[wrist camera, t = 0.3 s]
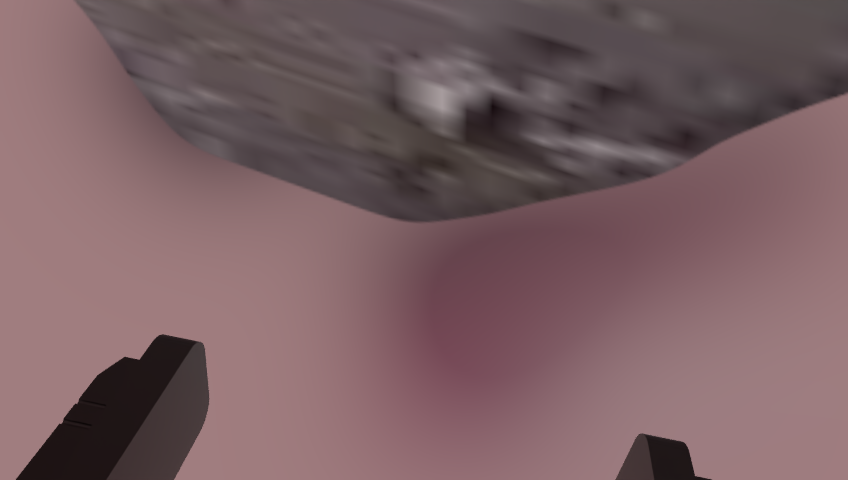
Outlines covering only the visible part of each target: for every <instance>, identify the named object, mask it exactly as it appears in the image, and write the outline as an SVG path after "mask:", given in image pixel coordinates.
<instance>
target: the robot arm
mask: <svg viewBox="0 0 848 480" xmlns="http://www.w3.org/2000/svg"><path fill="white" fill-rule="evenodd" d="M208 405H209V390H208V379H207V368H206V357H205V348H204V345H203V343H201V342H197V341H193V340H188V339H183V338H178V337H173V336H168V335H159V336H158V337H156V339H155V340H154V341H153V342H152V343H151V345H150V346H149V347H148V349H147V350H146V352H145V353H144V354H143V356H142V357H141V359H140V360H137V359H133V358H128V357H124V358H122V359H121V360H119V361H118V362H116V363H115V364H114V365H112V366H110V367H109V368H108V369H106V370H105V371H103V372H102V373H100V374H99V375H97V377H96V378H95V379H94V380H93V382H92V383H91V384H90V385H89V387H88V388H87V389H86V391H85V392H84V393H83V394H82V396H81V397H80V398H79V402H78V404H75V405H74V406H73V407H72V408H71V410H70V411H69V413H68V414H67V415H66V416H65V417H64V420H63V423H62V424H59V425H58V426H57V428H56V429H55V430H54V432H53V433H52V434H51V435H50V437H49V438H48V439H47V440H46V442H45V443H44V444H43V445H42V447H41V448H40V449H39V451H38V452H37V453H36V455H35V456H34V457H33V458H32V460H31V461H30V462H29V464H28V465H27V466H26V467H25V468H24V470H23V471H22V472H21V474H20V475H19V476H18V478H17V479H16V480H174V478H175V477H176V475H177V473H178V471H179V469H180V467H181V465H182V463H183V462H184V460H185V458H186V456H187V455H188V453H189V451H190V449H191V447H192V446H193V444H194V442H195V440H196V438H197V436H198V434H199V433H200V431H201V429H202V426H203V424H204V421H205V418H206V414H207V411H208ZM616 480H711V479H706V478H702V477H697V476H695V474H694V470H693V466H692V462H691V457H690V453H689V450H688V447H687V446H686V444H685V443H684V442H681V441H676V440H670V439H666V438H661V437H656V436H652V435H646V434H639V435H638V436H637V438H636V439H635V441H634V443H633V445H632V447H631V449H630V451H629V453H628V455H627V457H626V459H625V461H624V463H623V466H622V468H621V470H620V472H619V474H618V476H617V478H616Z"/></svg>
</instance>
